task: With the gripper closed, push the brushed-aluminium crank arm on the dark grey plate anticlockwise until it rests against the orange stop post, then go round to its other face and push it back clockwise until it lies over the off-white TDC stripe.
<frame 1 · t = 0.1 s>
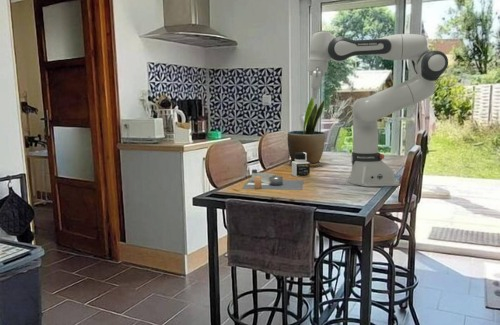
hand: (314, 98, 195), 39 cm above the table, tool pointing down, fingers open, 8 cm apart
medicine bottle: (300, 176, 217), on the table
crank: (266, 176, 195), point 4 cm above the table, hinge at -30.0°
base plate: (276, 186, 192), on the table
potted plant: (306, 165, 248), on the table
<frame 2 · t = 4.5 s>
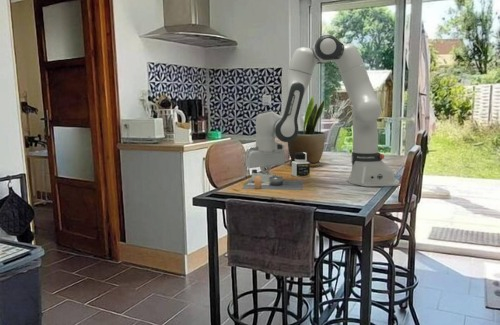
hand: (265, 175, 199), 4 cm above the table, tool pointing down, fingers closed
crank: (266, 176, 195), point 4 cm above the table, hinge at -30.0°, touching gripper
everything else where it was.
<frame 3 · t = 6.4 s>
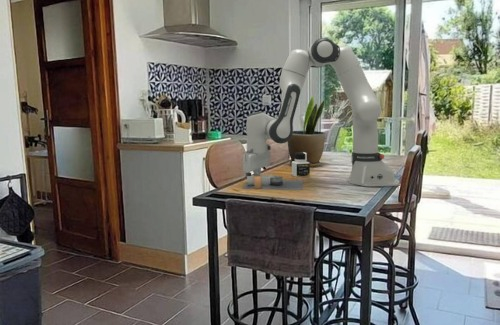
hand: (257, 178, 194), 3 cm above the table, tool pointing down, fingers closed
crank: (264, 178, 192), point 4 cm above the table, hinge at 8.7°, touching gripper
everything else where it was.
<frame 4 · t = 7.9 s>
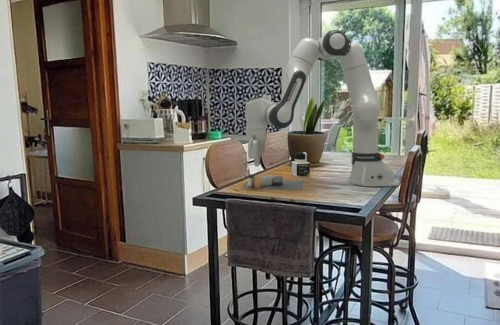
hand: (257, 165, 189), 10 cm above the table, tool pointing down, fingers closed
crank: (265, 179, 190), point 4 cm above the table, hinge at 32.7°
everything else where it was.
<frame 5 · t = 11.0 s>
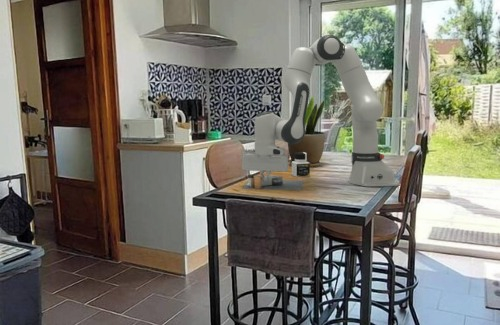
hand: (265, 181, 187), 4 cm above the table, tool pointing down, fingers closed
crank: (265, 179, 190), point 4 cm above the table, hinge at 32.6°, touching gripper
everything else where it was.
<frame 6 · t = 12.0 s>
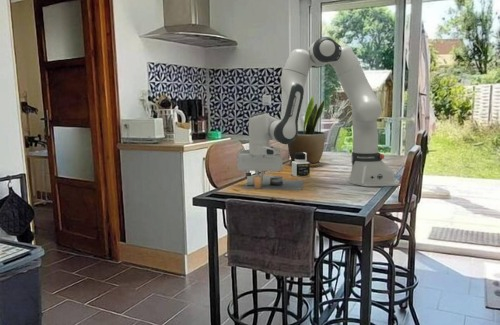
hand: (260, 180, 189), 3 cm above the table, tool pointing down, fingers closed
crank: (264, 178, 192), point 4 cm above the table, hinge at 9.5°, touching gripper
everything else where it was.
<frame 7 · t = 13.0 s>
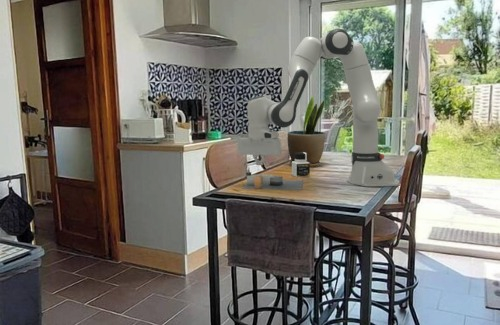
hand: (259, 164, 189), 10 cm above the table, tool pointing down, fingers closed
crank: (264, 178, 192), point 4 cm above the table, hinge at 4.3°
everything else where it was.
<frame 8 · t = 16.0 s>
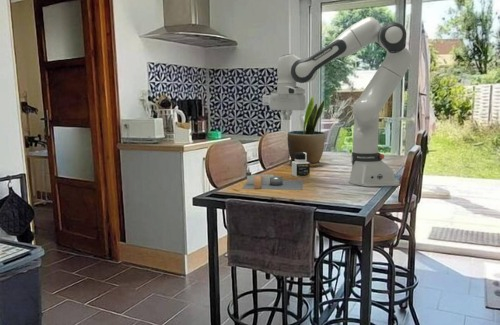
hand: (286, 120, 201), 29 cm above the table, tool pointing down, fingers closed
nothing on the table moved.
at the end: crank at +4° (first picture: -30°) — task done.
